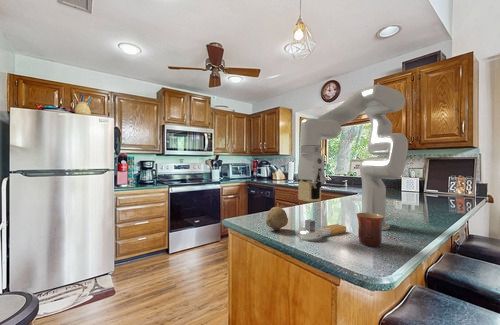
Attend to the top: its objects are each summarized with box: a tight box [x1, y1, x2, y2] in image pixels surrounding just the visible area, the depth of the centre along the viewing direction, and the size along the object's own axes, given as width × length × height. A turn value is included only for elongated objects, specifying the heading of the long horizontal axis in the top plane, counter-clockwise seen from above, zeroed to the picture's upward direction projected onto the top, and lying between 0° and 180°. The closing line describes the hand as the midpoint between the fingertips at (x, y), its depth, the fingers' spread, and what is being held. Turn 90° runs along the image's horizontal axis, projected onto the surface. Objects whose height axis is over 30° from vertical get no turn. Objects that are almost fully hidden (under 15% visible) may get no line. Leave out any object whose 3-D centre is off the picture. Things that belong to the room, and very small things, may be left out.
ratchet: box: [297, 218, 347, 242], centre depth 89 cm, size 22×9×6 cm, turn 118°
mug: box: [356, 212, 384, 248], centre depth 78 cm, size 12×9×10 cm
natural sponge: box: [265, 206, 289, 231], centre depth 94 cm, size 9×9×10 cm
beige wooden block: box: [297, 180, 322, 203], centre depth 85 cm, size 6×6×7 cm
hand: (309, 197), depth 85 cm, fingers closed on beige wooden block, 6 cm apart
